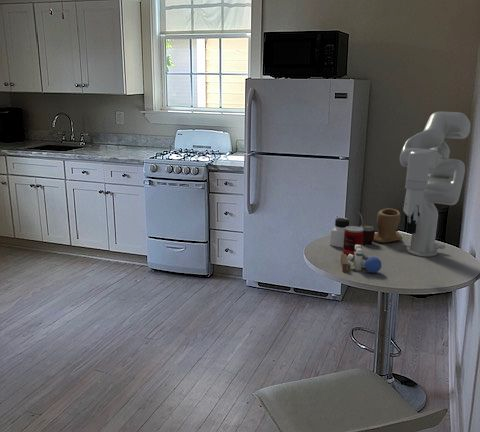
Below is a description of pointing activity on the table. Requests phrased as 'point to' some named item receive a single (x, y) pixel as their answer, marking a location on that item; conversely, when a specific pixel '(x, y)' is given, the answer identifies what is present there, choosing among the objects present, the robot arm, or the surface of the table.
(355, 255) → the back pin right
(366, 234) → the mate gourd
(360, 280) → the table surface
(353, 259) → the front pin
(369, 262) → the ball
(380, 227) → the stone cup
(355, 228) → the canned food
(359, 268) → the back pin left
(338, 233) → the medicine bottle
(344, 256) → the stopper wall
